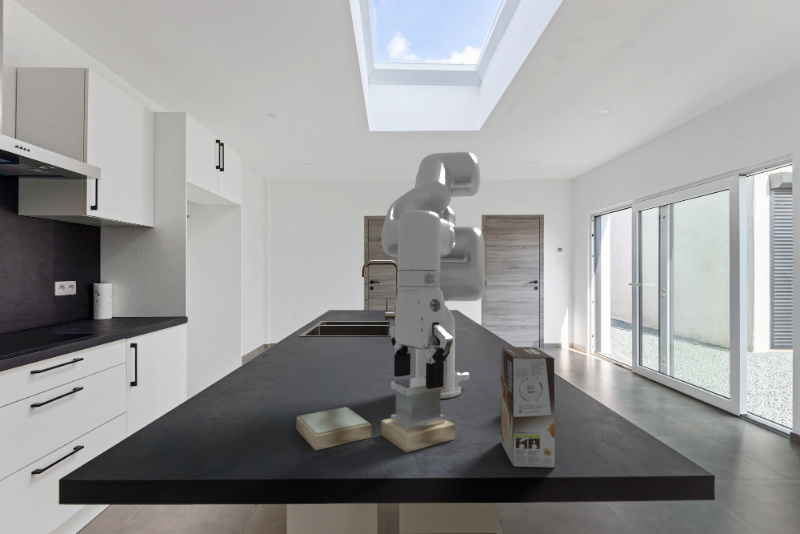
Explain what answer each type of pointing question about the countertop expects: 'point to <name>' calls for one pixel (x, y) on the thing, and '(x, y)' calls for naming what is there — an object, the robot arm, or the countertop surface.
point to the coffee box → (527, 406)
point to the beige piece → (417, 435)
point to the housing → (416, 404)
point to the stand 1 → (332, 428)
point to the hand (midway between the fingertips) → (417, 381)
